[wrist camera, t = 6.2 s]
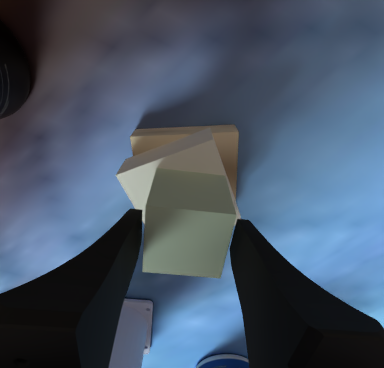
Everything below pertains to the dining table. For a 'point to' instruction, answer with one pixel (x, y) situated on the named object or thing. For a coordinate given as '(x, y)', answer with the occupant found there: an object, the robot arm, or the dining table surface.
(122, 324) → the robot arm
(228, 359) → the beverage bottle
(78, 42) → the dining table surface
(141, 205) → the white slab
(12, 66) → the supplement bottle
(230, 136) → the maple slab
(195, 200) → the sage block
